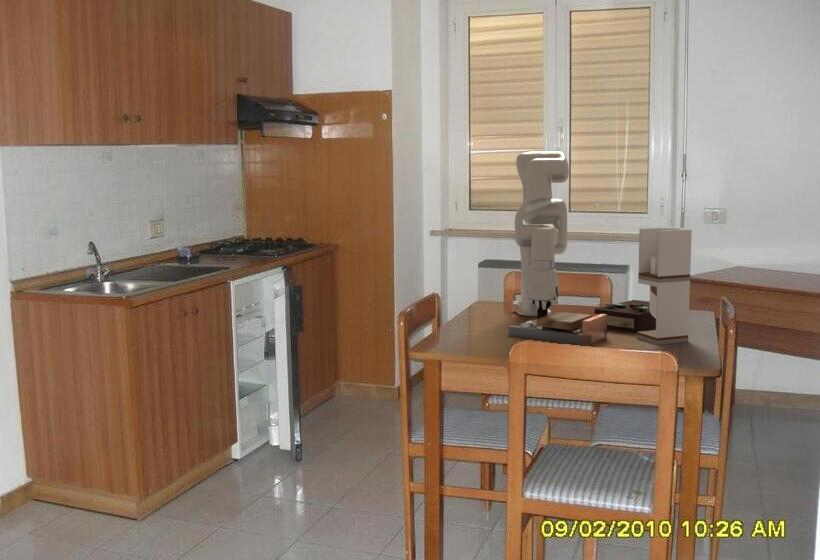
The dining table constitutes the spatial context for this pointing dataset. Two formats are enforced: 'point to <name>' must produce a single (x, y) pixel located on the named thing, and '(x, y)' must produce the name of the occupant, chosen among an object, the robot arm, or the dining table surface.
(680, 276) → the white tower
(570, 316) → the slab
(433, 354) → the dining table surface
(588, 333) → the track
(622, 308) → the decorative book
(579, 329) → the roller
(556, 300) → the robot arm
